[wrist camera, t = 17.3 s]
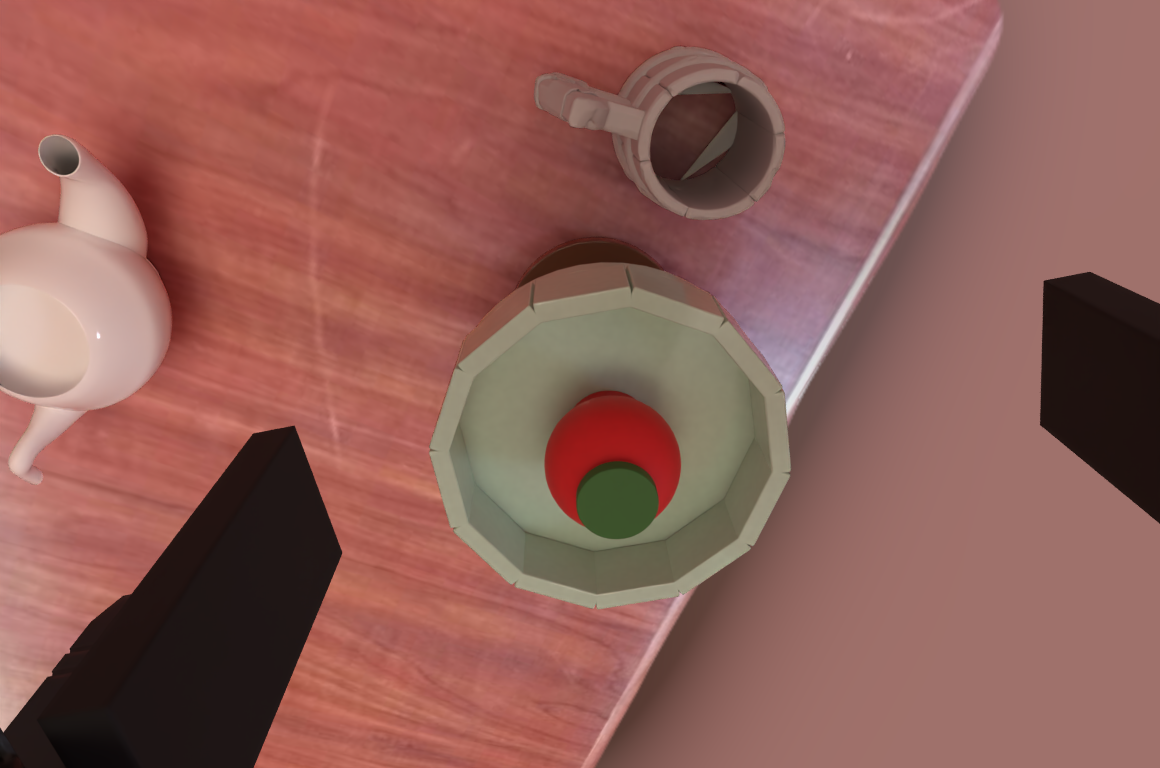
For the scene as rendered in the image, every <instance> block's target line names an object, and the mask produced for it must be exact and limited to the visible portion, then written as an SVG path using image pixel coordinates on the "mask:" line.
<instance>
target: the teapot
mask: <svg viewBox="0 0 1160 768" xmlns="http://www.w3.org/2000/svg"><path fill="white" fill-rule="evenodd" d="M38 154H39V158H40V161H41V163H42V164H43V166H44V167H45V168H46V169H47V170H48V171H49V172H51V173H52V174H54V175H57V176H59V178H60V185H61V194H60V205H59V215H58V222H47V223H37V224H31V225H26V226H22V227H18V228H15V229H12V230H9V231H7V232H5V233H2V234H0V391H2V392H4V393H6V394H8V395H10V396H12V397H14V398H16V399H18V400H21V401H24V402H27V403H30V404H34V405H35V407H34V412H33V414H32V417H31V420H30V422H29V425H28V427H27V429H26V430H25V432H24V433H23V435H22V436H21V437H20V439H19V440H18V442H17V443H16V445H15V446H14V448H13V450H12V452H11V454H10V456H9V459H8V466H9V469H10V470H11V472H12V473H14V474H15V475H16V476H18V477H19V478H21V479H23V480H24V481H26V482H28V483H30V484H32V485H38V484H40V483H41V482H42V480H43V474H42V472H41V470H40V469H39V468H38V467H36V466H33V465H32V464H33V462H34V460H35V458H36V456H37V455H38V454H39V453H40V452H41V451H42V450H43V449H44V448H45V447H46V446H47V445H49V444H50V443H51V442H53V441H54V440H55V439H56V438H58V437H59V436H60V435H61V434H63V433H64V432H65V431H66V430H67V429H68V428H69V427H70V426H71V425H72V424H73V423H75V422H76V421H77V420H78V419H79V418H80V417H81V416H83V415H84V414H85V413H86V412H87V411H88V410H95V409H100V408H104V407H108V406H111V405H114V404H116V403H118V402H121V401H123V400H124V399H126V398H128V397H130V396H131V395H133V394H134V393H135V392H137V391H138V390H139V389H141V388H142V387H143V386H144V385H145V384H146V383H147V382H148V381H149V380H150V379H151V378H152V377H153V375H154V374H155V373H156V371H157V370H158V368H159V367H160V365H161V364H162V362H163V360H164V358H165V356H166V353H167V350H168V347H169V344H170V339H171V334H172V310H171V304H170V300H169V297H168V294H167V291H166V288H165V286H164V284H163V282H162V280H161V278H160V276H159V274H158V272H157V270H156V269H155V267H154V266H153V265H152V263H151V262H150V261H149V260H148V259H147V258H146V257H147V248H148V237H147V231H146V228H145V224H144V221H143V218H142V216H141V213H140V211H139V209H138V207H137V205H136V203H135V202H134V200H133V198H132V197H131V195H130V194H129V192H128V191H127V189H126V188H125V187H124V185H123V184H122V183H121V182H120V181H119V179H118V178H117V177H116V176H115V175H114V174H113V173H112V172H111V171H110V170H109V169H108V168H107V167H106V166H105V165H103V164H102V163H101V162H100V161H99V160H98V159H97V158H96V157H95V156H94V155H93V154H92V153H91V152H89V151H88V150H87V149H86V148H85V147H84V146H83V145H81V144H80V143H79V142H77V141H76V140H74V139H72V138H70V137H68V136H65V135H61V134H53V135H49V136H47V137H45V138H44V139H43V140H42V141H41V142H40V144H39V148H38Z"/></svg>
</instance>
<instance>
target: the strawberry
mask: <svg viewBox="0 0 1160 768" xmlns="http://www.w3.org/2000/svg"><path fill="white" fill-rule="evenodd" d="M544 468H545V476H546V481H547V484H548V487H549V490H550V492H551V494H552V497H553V498H554V500H555V501H556V503H557V504H558V506H559V507H560V508H561V509H562V511H563V512H564V513H565V514H566V515H568V516H569V517H570V518H571V519H573V520H574V521H576V522H577V523H579V524H580V525H582V526H584V527H586V528H587V529H588V530H589V531H591V532H592V533H594V534H596V535H598V536H600V537H603V538H607V539H625V538H630V537H633V536H635V535H637V534H639V533H641V532H642V531H644V530H645V529H646V528H647V527H648V526H649V525H650V524H651V523H652V522H653V520H654V519H655V518H656V517H657V516H658V515H659V514H660V513H661V512H662V511H663V510H664V509H665V508H666V507H667V505H668V504H669V503H670V501H671V500H672V498H673V496H674V494H675V492H676V489H677V486H678V484H679V479H680V473H681V455H680V450H679V445H678V442H677V440H676V437H675V435H674V433H673V431H672V429H671V428H670V426H669V425H668V423H667V422H666V421H665V420H664V418H663V417H662V416H661V415H660V414H659V413H658V412H657V411H655V410H654V409H652V408H651V407H650V406H648V405H646V404H644V403H642V402H640V401H638V400H636V399H635V398H633V397H632V396H630V395H628V394H625V393H622V392H618V391H600V392H596V393H593V394H590V395H588V396H587V397H585V398H583V399H582V400H581V401H580V402H578V403H577V404H576V406H575V407H574V408H573V409H571V410H570V411H569V412H568V413H567V414H565V415H564V416H563V417H562V419H561V420H560V421H559V422H558V423H557V425H556V426H555V428H554V430H553V432H552V434H551V436H550V438H549V440H548V443H547V447H546V452H545V459H544Z"/></svg>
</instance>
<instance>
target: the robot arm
mask: <svg viewBox="0 0 1160 768" xmlns="http://www.w3.org/2000/svg"><path fill="white" fill-rule="evenodd" d="M1043 291H1044V292H1043V330H1042V372H1041V413H1040V425H1041V426H1042V427H1043V428H1045V429H1046V430H1047V431H1048V432H1049V433H1051V434H1052V435H1053V436H1054V437H1055V438H1057V439H1058V440H1059V441H1060V442H1062V443H1063V444H1064V445H1065V446H1067V447H1068V448H1069V449H1070V450H1071V451H1073V452H1074V453H1075V454H1076V455H1077V456H1078V457H1080V458H1081V459H1082V460H1083V461H1085V462H1086V463H1087V464H1088V465H1090V466H1091V467H1092V468H1093V469H1094V470H1095V471H1097V472H1098V473H1099V474H1100V475H1101V476H1103V477H1104V478H1105V479H1106V480H1108V481H1109V482H1110V483H1111V484H1113V485H1114V486H1115V487H1116V488H1117V489H1118V490H1120V491H1121V492H1122V493H1123V494H1125V495H1126V496H1127V497H1128V498H1130V499H1131V500H1132V501H1133V502H1134V503H1136V504H1137V505H1138V506H1139V507H1140V508H1142V509H1143V510H1144V511H1145V512H1147V513H1148V514H1149V515H1150V516H1151V517H1152V518H1154V519H1155V520H1156V521H1157V522H1159V523H1160V304H1159V303H1157V302H1154V301H1152V300H1150V299H1148V298H1146V297H1144V296H1141V295H1139V294H1137V293H1135V292H1133V291H1131V290H1128V289H1126V288H1124V287H1122V286H1120V285H1117V284H1115V283H1113V282H1111V281H1109V280H1107V279H1104V278H1102V277H1100V276H1098V275H1096V274H1094V273H1091V272H1087V273H1082V274H1076V275H1071V276H1066V277H1061V278H1055V279H1050V280H1045V281H1044V289H1043ZM341 555H342V551H341V548H340V545H339V543H338V540H337V537H336V535H335V532H334V529H333V527H332V524H331V521H330V519H329V516H328V513H327V511H326V508H325V505H324V503H323V500H322V497H321V495H320V492H319V489H318V487H317V484H316V481H315V479H314V476H313V473H312V471H311V468H310V465H309V463H308V460H307V457H306V455H305V452H304V449H303V447H302V444H301V441H300V439H299V436H298V433H297V431H296V428H295V426H290V427H285V428H280V429H274V430H269V431H264V432H259V433H254V434H253V435H252V436H251V437H250V439H249V440H248V441H247V442H246V444H245V445H244V446H243V448H242V449H241V450H240V452H239V453H238V454H237V456H236V457H235V458H234V460H233V461H232V462H231V464H230V465H229V466H228V468H227V469H226V470H225V472H224V473H223V474H222V476H221V477H220V478H219V479H218V481H217V482H216V483H215V485H214V486H213V487H212V489H211V490H210V491H209V493H208V494H207V495H206V497H205V498H204V499H203V501H202V502H201V503H200V505H199V506H198V507H197V509H196V510H195V511H194V512H193V514H192V515H191V516H190V518H189V519H188V520H187V522H186V523H185V524H184V526H183V527H182V528H181V530H180V531H179V532H178V534H177V535H176V536H175V538H174V539H173V540H172V542H171V543H170V544H169V546H168V547H167V548H166V549H165V551H164V552H163V553H162V555H161V556H160V557H159V559H158V560H157V561H156V563H155V564H154V565H153V567H152V568H151V569H150V571H149V572H148V573H147V575H146V576H145V577H144V579H143V580H142V581H141V583H140V584H139V585H138V586H137V588H136V589H135V590H134V592H133V593H132V594H130V595H125V596H122V597H121V598H120V599H119V600H117V601H116V602H115V603H114V604H112V605H111V606H110V607H109V608H107V609H106V610H105V611H104V612H102V613H101V614H100V615H99V616H97V617H96V618H95V619H94V620H93V621H91V622H90V624H89V625H88V626H87V627H86V629H85V630H84V631H83V633H82V634H81V635H80V636H79V638H78V639H77V640H76V641H75V643H74V644H73V645H72V646H71V648H70V653H69V654H65V655H64V657H63V658H62V659H61V660H60V662H59V663H58V664H57V665H56V667H55V668H54V669H53V671H52V673H53V674H52V676H50V677H47V678H46V679H45V681H44V682H43V683H42V684H41V686H40V687H39V688H38V689H37V691H36V692H35V693H34V695H33V696H32V697H31V698H30V700H29V701H28V702H27V703H26V705H25V706H24V707H23V708H22V710H21V711H20V712H19V714H18V715H17V716H16V717H15V719H14V720H13V721H12V722H11V724H10V725H9V726H8V727H7V729H6V730H5V731H4V733H3V731H2V730H1V728H0V768H254V765H255V763H256V760H257V758H258V756H259V753H260V751H261V748H262V746H263V743H264V741H265V739H266V736H267V734H268V731H269V729H270V727H271V724H272V722H273V719H274V717H275V715H276V712H277V710H278V707H279V705H280V702H281V700H282V698H283V695H284V693H285V690H286V688H287V686H288V683H289V681H290V678H291V676H292V674H293V671H294V669H295V666H296V664H297V661H298V659H299V657H300V654H301V652H302V649H303V647H304V645H305V642H306V640H307V637H308V635H309V632H310V630H311V628H312V625H313V623H314V620H315V618H316V616H317V613H318V611H319V608H320V606H321V604H322V601H323V599H324V596H325V594H326V591H327V589H328V587H329V584H330V582H331V579H332V577H333V575H334V572H335V570H336V567H337V565H338V563H339V560H340V558H341Z"/></svg>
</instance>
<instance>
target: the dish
mask: <svg viewBox="0 0 1160 768" xmlns="http://www.w3.org/2000/svg"><path fill="white" fill-rule="evenodd" d="M600 391H618V392H622V393H625V394H628V395H630V396H632V397H633V398H635V399H636V400H638V401H640V402H642V403H644V404H646V405H648V406H650V407H651V408H652V409H654V410H655V411H657V412H658V413H659V414H660V415H661V416H662V417H663V418H664V420H665V421H666V422H667V423H668V425H669V426H670V428H671V429H672V431H673V433H674V435H675V437H676V440H677V442H678V445H679V450H680V455H681V473H680V479H679V484H678V486H677V489H676V492H675V494H674V496H673V498H672V500H671V501H670V503H669V504H668V505H667V507H666V508H665V509H664V510H663V511H662V512H661V513H660V514H659V515H658V516H657V517H656V518H655V519H654V520H653V522H652V523H651V524H650V525H649V526H648V527H647V528H646V529H645V530H644V531H642V532H641V533H639V534H637V535H635V536H633V537H630V538H625V539H607V538H603V537H600V536H598V535H596V534H594V533H592V532H591V531H589V530H588V529H587V528H586V527H584V526H582V525H580V524H579V523H577V522H576V521H574V520H573V519H571V518H570V517H569V516H568V515H566V514H565V513H564V512H563V511H562V509H561V508H560V507H559V506H558V504H557V503H556V501H555V500H554V498H553V497H552V494H551V492H550V490H549V487H548V484H547V481H546V476H545V468H544V459H545V452H546V447H547V443H548V440H549V438H550V436H551V434H552V432H553V430H554V428H555V426H556V425H557V423H558V422H559V421H560V420H561V419H562V417H563V416H564V415H565V414H567V413H568V412H569V411H570V410H571V409H573V408H574V407H575V406H576V404H577V403H578V402H580V401H581V400H582V399H583V398H585V397H587V396H588V395H590V394H593V393H596V392H600ZM429 448H430V451H429V455H430V458H431V462H432V465H433V469H434V472H435V476H436V479H437V483H438V486H439V490H440V493H441V497H442V500H443V504H444V507H445V511H446V514H447V518H448V521H449V525H450V527H451V528H453V532H454V533H455V534H456V535H457V536H458V537H459V538H461V539H462V540H463V541H464V542H465V543H466V544H467V545H468V546H469V547H470V548H471V549H472V550H474V551H475V552H476V553H477V554H478V555H479V556H480V557H481V558H482V559H483V560H484V561H485V562H487V563H488V564H489V565H490V566H491V567H492V568H493V569H494V570H495V571H496V572H497V573H498V574H499V575H501V576H502V577H503V578H504V579H505V580H506V581H507V582H508V583H509V584H513V583H515V587H516V588H520V589H523V590H527V591H530V592H534V593H538V594H541V595H545V596H548V597H552V598H556V599H559V600H563V601H566V602H570V603H573V604H577V605H581V606H584V607H588V608H591V609H593V608H594V606H595V604H596V607H597V609H603V608H610V607H616V606H622V605H628V604H635V603H641V602H647V601H653V600H660V599H666V598H672V597H678V596H679V591H680V592H681V593H682V594H683V595H684V594H685V593H687V592H688V591H690V590H691V589H693V588H694V587H696V586H697V585H699V584H700V583H702V582H703V581H704V580H706V579H707V578H709V577H710V576H712V575H713V574H715V573H716V572H718V571H719V570H721V569H722V568H723V567H725V566H727V565H728V564H729V563H731V562H732V561H734V560H735V559H737V558H738V557H740V556H741V555H743V554H744V553H746V552H747V551H749V550H750V545H752V546H754V544H755V542H756V540H757V538H758V536H759V535H760V533H761V531H762V529H763V527H764V525H765V523H766V521H767V519H768V517H769V515H770V514H771V512H772V510H773V508H774V506H775V504H776V502H777V500H778V498H779V496H780V494H781V492H782V491H783V489H784V487H785V485H786V483H787V481H788V479H789V477H790V473H789V471H791V462H790V450H789V439H788V427H787V416H786V404H785V393H784V391H783V389H782V385H781V383H780V382H779V380H778V379H777V377H776V375H775V374H774V372H773V371H772V369H771V367H770V366H769V364H768V363H767V361H766V359H765V358H764V356H763V355H762V354H761V353H760V351H759V350H758V349H757V348H756V347H755V345H754V344H753V343H752V342H751V340H750V339H749V338H748V337H747V335H746V334H745V333H744V332H743V330H742V329H741V327H740V326H739V324H738V323H737V321H736V320H735V319H734V318H733V317H732V316H731V315H730V313H729V312H728V311H727V310H726V309H725V308H724V307H723V306H722V305H721V303H720V302H719V301H718V300H717V299H716V297H715V296H711V294H710V293H709V292H706V291H703V290H702V289H700V288H698V287H697V286H695V285H693V284H692V283H690V282H688V281H687V280H684V279H682V278H680V277H677V276H675V275H673V274H670V273H668V272H665V271H664V269H663V268H662V267H661V266H660V265H659V264H658V263H657V262H656V261H655V259H653V258H652V257H651V256H650V255H648V254H647V253H646V252H644V251H643V250H641V249H639V248H638V247H636V246H633V245H631V244H629V243H626V242H623V241H620V240H616V239H611V238H604V237H588V238H580V239H576V240H572V241H568V242H565V243H563V244H560V245H558V246H556V247H554V248H552V249H550V250H549V251H547V252H546V253H544V254H543V255H542V256H540V257H539V258H538V259H537V260H536V261H535V262H534V263H532V264H531V265H530V267H529V268H528V269H527V270H526V272H525V273H524V274H523V276H522V277H521V279H520V281H519V283H518V284H517V287H516V289H515V291H514V292H512V293H511V294H509V295H508V296H507V297H505V298H504V299H503V300H501V301H500V302H499V303H498V304H497V305H496V306H495V307H494V308H493V309H491V310H490V311H489V312H488V313H487V314H486V315H485V316H484V317H483V319H482V320H481V321H480V322H479V324H478V325H477V326H476V328H475V329H474V330H472V331H471V332H470V333H469V334H468V335H467V336H466V338H465V340H463V342H462V345H461V348H460V351H459V354H458V358H457V361H456V364H455V367H454V369H453V373H452V376H451V379H450V382H449V385H448V388H447V391H446V394H445V397H444V400H443V404H442V407H441V410H440V413H439V416H438V419H437V422H436V426H435V429H434V432H433V435H432V439H431V442H430V445H429Z"/></svg>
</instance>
